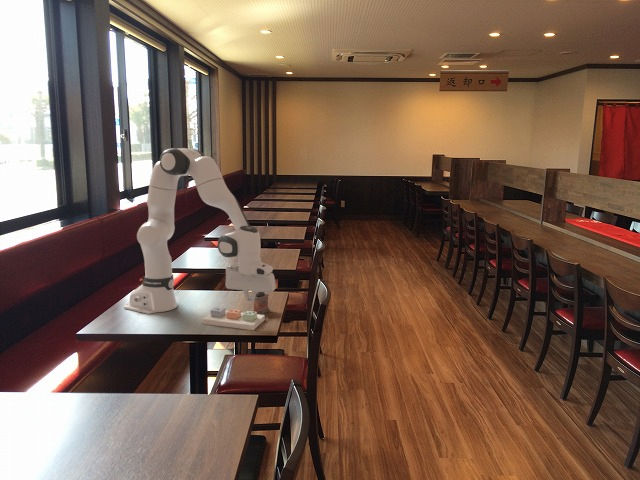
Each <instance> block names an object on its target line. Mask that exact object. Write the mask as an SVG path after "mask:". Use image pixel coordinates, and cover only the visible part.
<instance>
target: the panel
mask: <svg viewBox="0 0 640 480" xmlns="http://www.w3.org/2000/svg"><path fill="white" fill-rule="evenodd" d="M228 311H229V310H226V312H228ZM244 313H245V312H242V311H241V317H240V318H239V319H237V320H234V319H227V314H226V315H224V316H223V317H222V318H218V317H211V312H210V313H209V314H207V315H206V316H204V317H203V318H202V322H201V323H202V324H203V325H208V326H209V325H211V326H217V327H218V326H219V327H223V328H224V327H225V328H234V329H240V330H249V331H254V330H255V329H257V327H259V326H260V325H261V324H262V323H263V322H264V321H265V320H266V316H265V314H260V315H259V314H257V319H256V320H255V321H254V322H250V321H243V314H244Z"/></svg>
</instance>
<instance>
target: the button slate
mask: <svg viewBox="0 0 640 480" xmlns="http://www.w3.org/2000/svg"><path fill="white" fill-rule="evenodd" d="M226 311H227V310H226V308H225V307H218V306H215V307H214V308H213V309H210V313H211V317H218V318H222V317H223V316H224V315H226Z"/></svg>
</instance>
